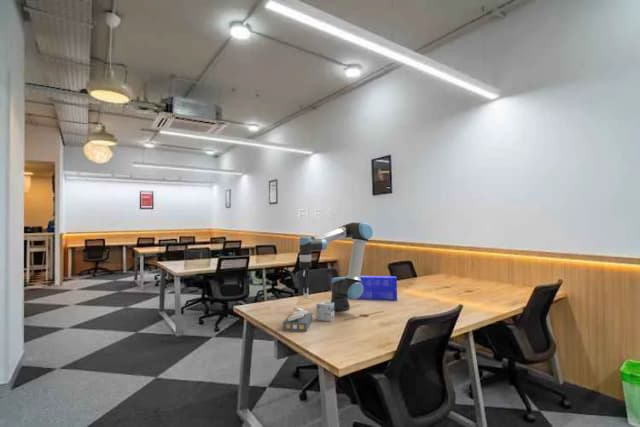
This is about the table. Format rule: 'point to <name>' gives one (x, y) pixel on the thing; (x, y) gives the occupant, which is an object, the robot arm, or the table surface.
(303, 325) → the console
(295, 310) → the rocker far
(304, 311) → the rocker mid
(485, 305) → the table surface
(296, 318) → the rocker near
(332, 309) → the light bulb box
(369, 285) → the toner cartridge box
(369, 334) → the table surface
